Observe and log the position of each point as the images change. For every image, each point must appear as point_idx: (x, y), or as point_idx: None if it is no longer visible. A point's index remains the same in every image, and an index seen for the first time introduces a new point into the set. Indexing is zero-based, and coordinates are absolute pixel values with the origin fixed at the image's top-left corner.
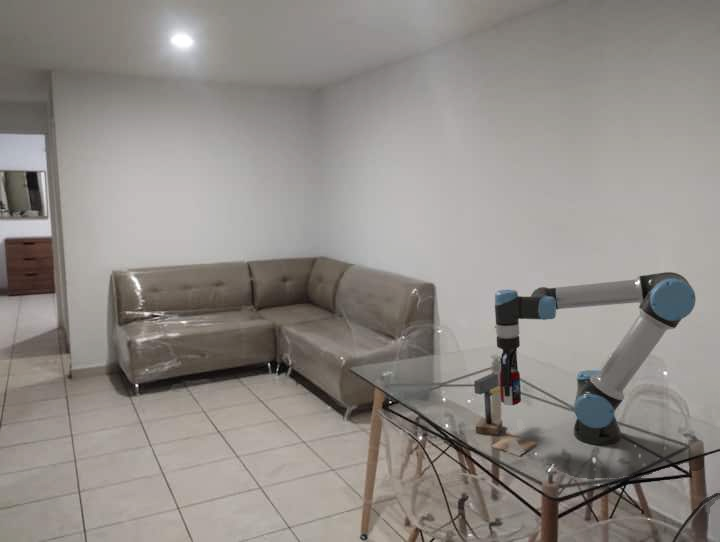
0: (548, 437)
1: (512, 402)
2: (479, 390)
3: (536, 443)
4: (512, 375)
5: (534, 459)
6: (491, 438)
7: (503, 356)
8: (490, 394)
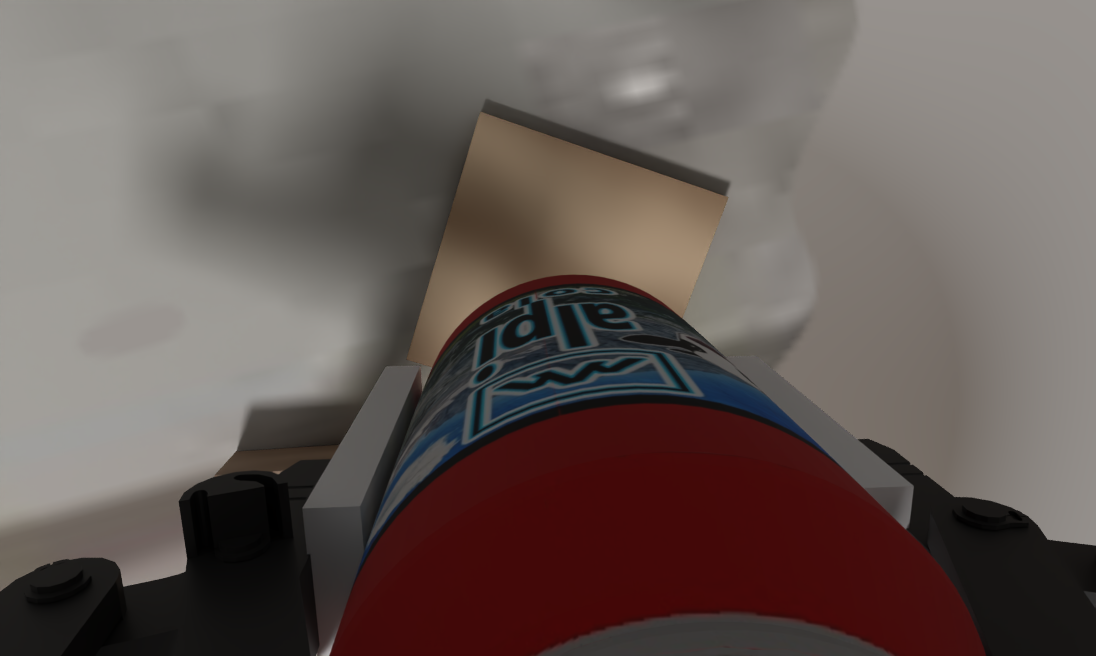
0: (309, 41)
1: (737, 366)
2: None
3: (480, 112)
4: (967, 646)
5: (744, 73)
6: None
7: None
8: None
